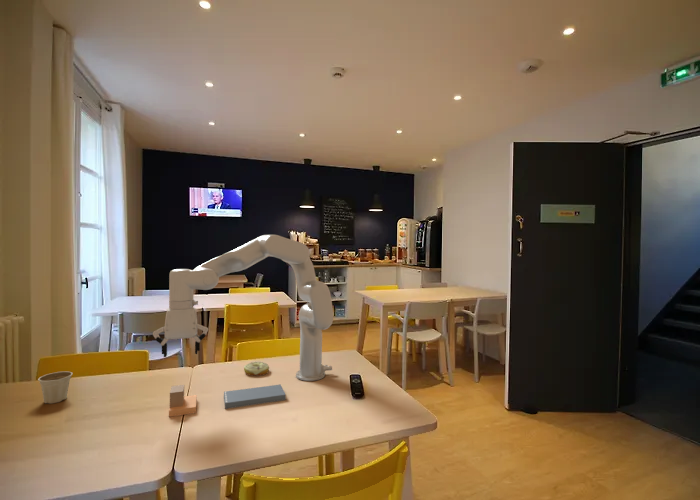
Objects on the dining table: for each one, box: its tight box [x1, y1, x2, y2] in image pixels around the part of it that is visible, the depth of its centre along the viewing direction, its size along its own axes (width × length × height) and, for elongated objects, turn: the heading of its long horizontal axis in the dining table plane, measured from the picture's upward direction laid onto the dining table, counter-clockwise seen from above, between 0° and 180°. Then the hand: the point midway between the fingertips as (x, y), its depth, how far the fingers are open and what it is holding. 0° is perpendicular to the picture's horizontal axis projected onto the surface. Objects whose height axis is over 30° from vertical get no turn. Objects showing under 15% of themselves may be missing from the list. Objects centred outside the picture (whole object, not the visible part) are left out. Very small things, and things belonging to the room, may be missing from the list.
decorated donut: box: [243, 361, 270, 377], centre depth 155 cm, size 10×11×4 cm
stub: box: [168, 384, 198, 418], centre depth 120 cm, size 8×10×7 cm
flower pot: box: [37, 371, 73, 404], centre depth 124 cm, size 9×9×9 cm
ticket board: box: [223, 384, 287, 410], centre depth 129 cm, size 21×10×2 cm, turn 112°
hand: (181, 354), depth 120 cm, fingers open, 9 cm apart
